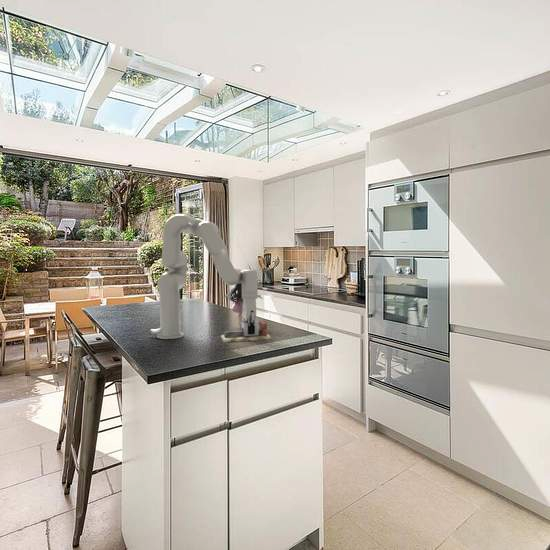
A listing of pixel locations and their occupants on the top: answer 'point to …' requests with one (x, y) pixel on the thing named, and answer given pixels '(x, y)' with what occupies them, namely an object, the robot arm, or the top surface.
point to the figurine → (237, 300)
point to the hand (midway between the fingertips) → (249, 332)
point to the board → (240, 336)
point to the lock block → (245, 327)
